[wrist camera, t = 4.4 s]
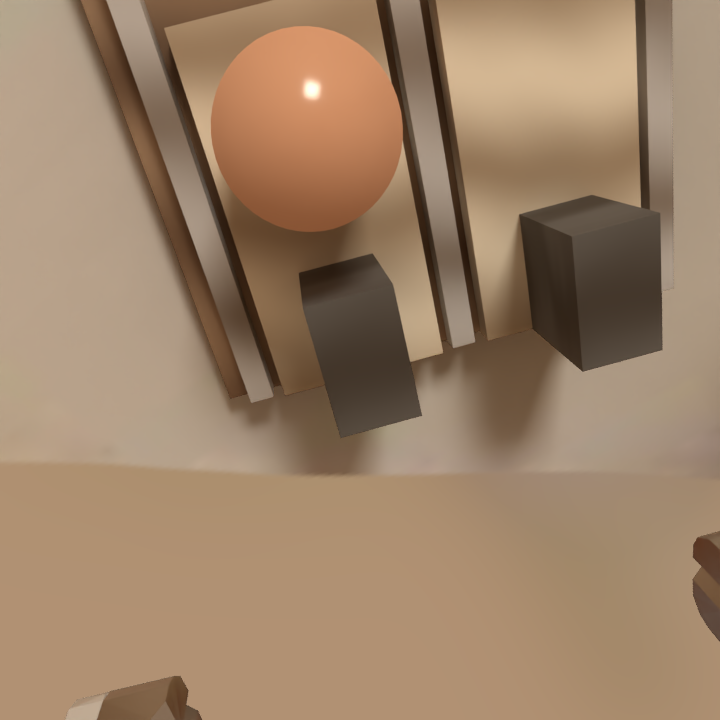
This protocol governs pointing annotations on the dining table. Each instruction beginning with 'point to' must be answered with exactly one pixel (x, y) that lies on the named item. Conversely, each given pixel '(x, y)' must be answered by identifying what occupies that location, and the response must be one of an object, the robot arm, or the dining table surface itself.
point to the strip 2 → (552, 172)
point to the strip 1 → (324, 242)
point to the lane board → (421, 144)
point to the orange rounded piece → (306, 128)
